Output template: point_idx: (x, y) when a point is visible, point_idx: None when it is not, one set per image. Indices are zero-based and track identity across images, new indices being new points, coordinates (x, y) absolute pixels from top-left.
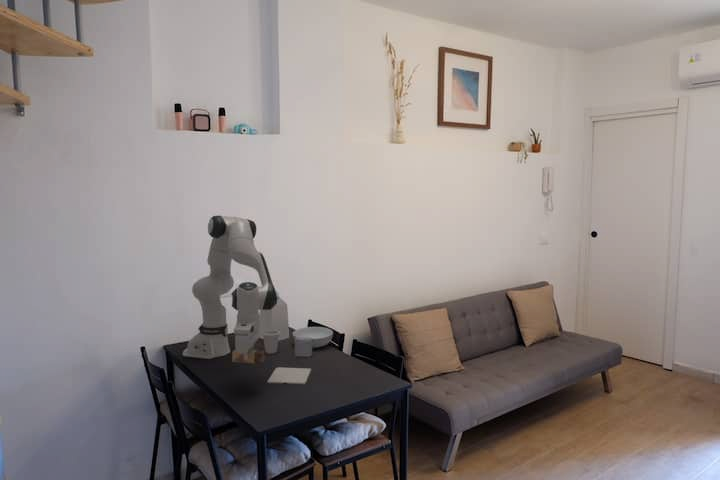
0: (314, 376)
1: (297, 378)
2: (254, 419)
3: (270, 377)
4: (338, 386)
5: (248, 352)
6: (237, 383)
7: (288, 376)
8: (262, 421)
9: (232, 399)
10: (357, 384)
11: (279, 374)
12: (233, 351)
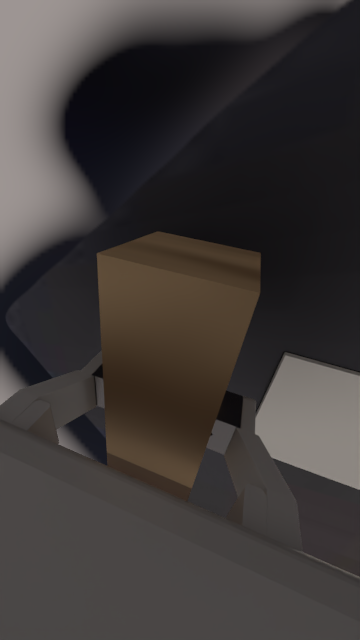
0: (301, 476)
1: (286, 440)
2: (35, 305)
3: (331, 369)
4: (215, 489)
5: (122, 421)
6: (321, 219)
7: (316, 424)
8: (32, 323)
9: (140, 224)
10: (221, 515)
11: (354, 403)
12: (132, 268)
